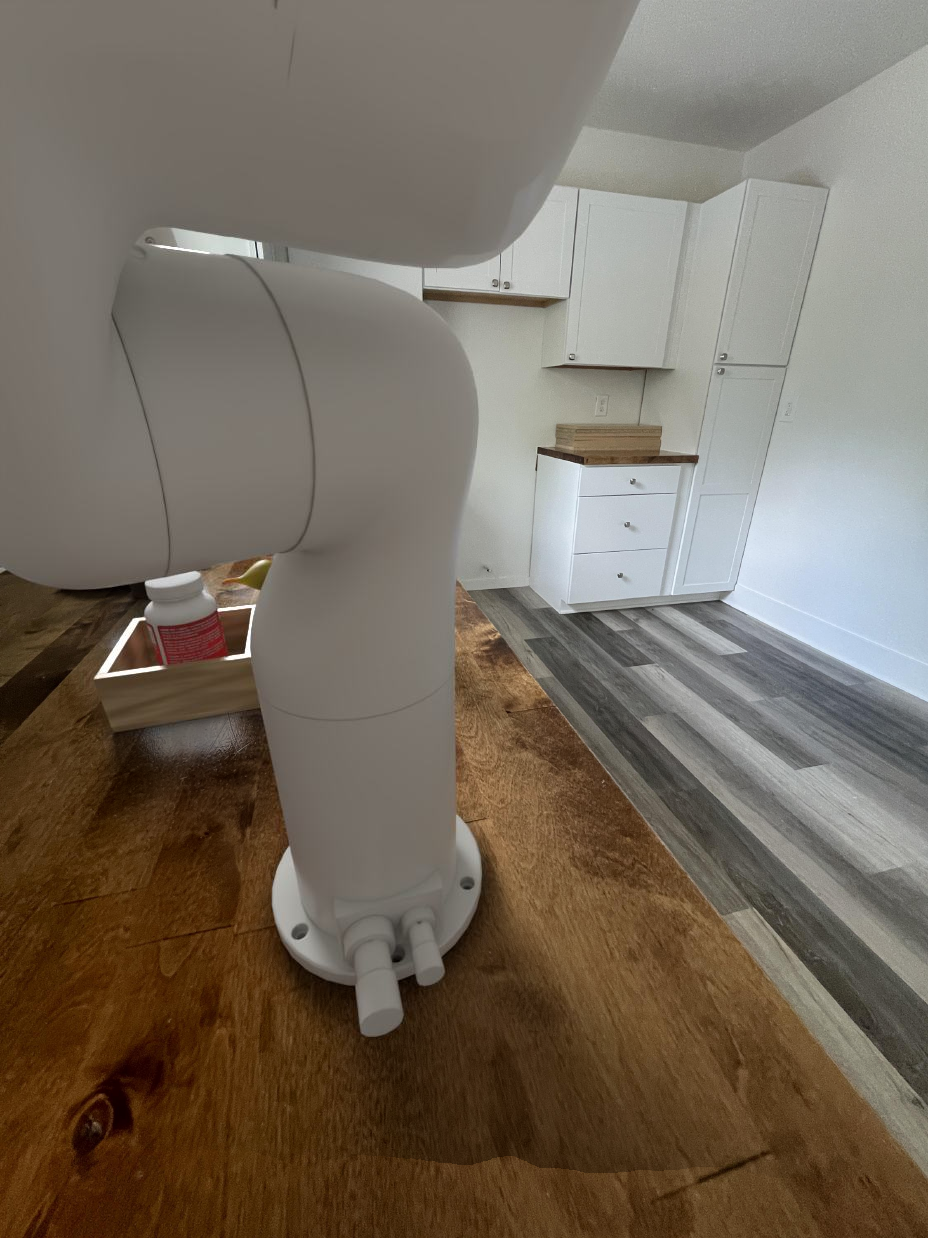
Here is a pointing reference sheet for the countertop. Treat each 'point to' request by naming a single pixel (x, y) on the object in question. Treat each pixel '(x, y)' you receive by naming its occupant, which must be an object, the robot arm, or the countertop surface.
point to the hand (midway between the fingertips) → (157, 451)
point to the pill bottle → (183, 620)
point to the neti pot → (253, 575)
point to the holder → (177, 678)
